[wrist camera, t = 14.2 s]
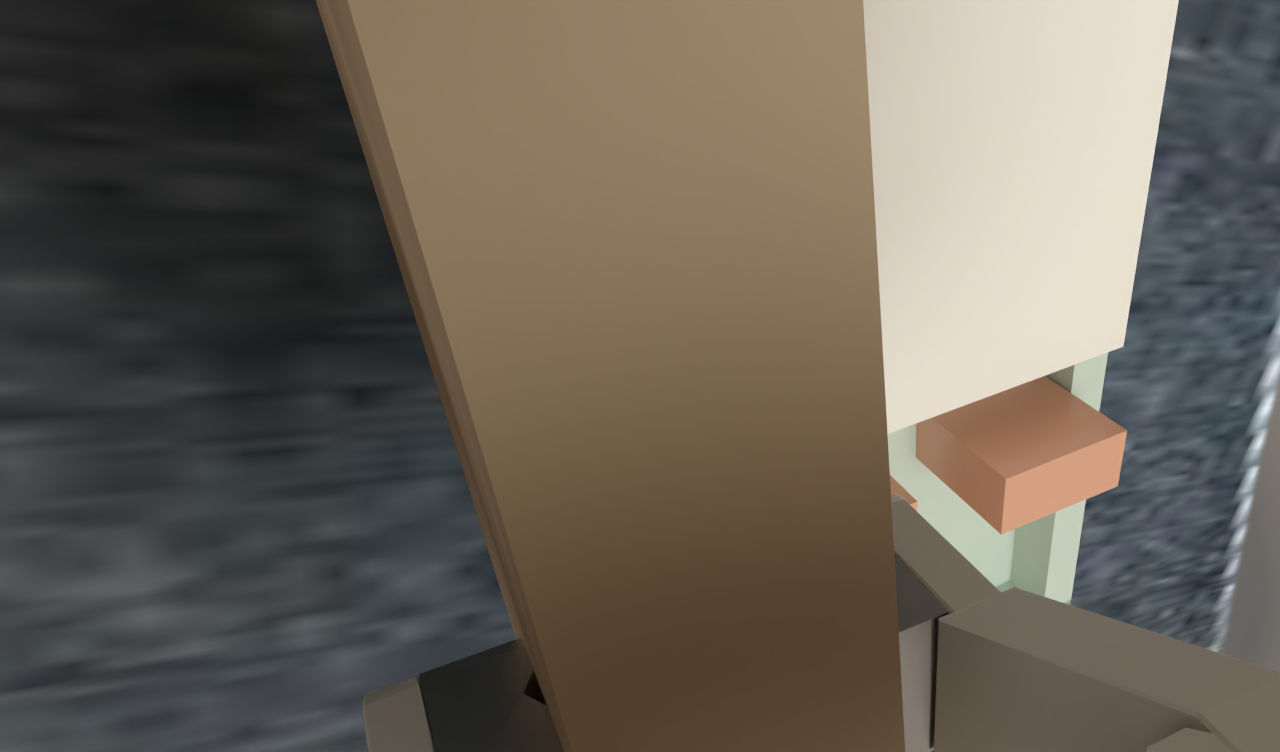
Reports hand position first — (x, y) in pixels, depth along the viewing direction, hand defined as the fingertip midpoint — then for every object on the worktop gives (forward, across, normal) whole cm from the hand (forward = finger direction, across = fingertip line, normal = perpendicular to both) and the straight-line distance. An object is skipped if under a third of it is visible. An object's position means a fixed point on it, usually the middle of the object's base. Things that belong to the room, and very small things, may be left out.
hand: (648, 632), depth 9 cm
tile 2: (+12, -14, +10) cm, 21 cm away
